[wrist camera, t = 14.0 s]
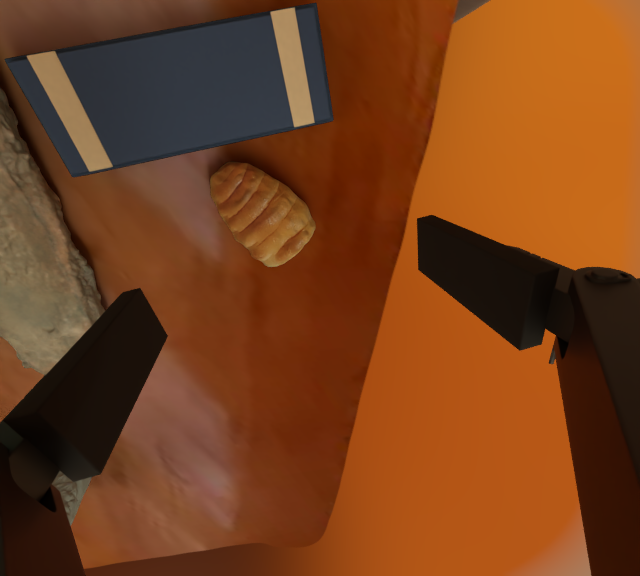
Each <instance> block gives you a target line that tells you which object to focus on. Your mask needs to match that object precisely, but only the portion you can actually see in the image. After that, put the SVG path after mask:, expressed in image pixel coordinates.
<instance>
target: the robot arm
mask: <svg viewBox="0 0 640 576" xmlns="http://www.w3.org/2000/svg"><path fill="white" fill-rule="evenodd" d="M417 231H418V232H417V233H418V270H420V271H421V272H422V273H423V274H424V275H426V276H427V277H428V278H429V279H431V280H432V281H433V282H434V283H436V284H437V285H438V286H439V287H441V288H442V289H443V290H444V291H446V292H447V293H448V294H449V295H451V296H452V297H453V298H455V299H456V300H457V301H458V302H459V303H461V304H462V305H463V306H465V307H466V308H467V309H468V310H469V311H471V312H472V313H474V315H476V316H477V317H478V318H479V319H481V320H482V321H483V322H485V323H486V324H487V325H488V326H489V327H491V328H492V329H493V330H495V331H496V332H497V333H498V334H500V335H501V336H502V337H503V338H505V339H506V340H507V341H508V342H510V343H511V344H512V345H513V346H515V347H516V348H517V349H519V350H524V349H527V348H530V347H534V346H537V345H541V344H542V340H543V336H544V332H545V329H547V330H548V331H550V332H552V333H553V334H555V335H556V338H555V341H554V345H553V349H552V353H551V356H550V360H549V364H553V363H554V360H555V359H556V363H557V369H558V375H559V381H560V387H561V393H562V399H563V405H564V411H565V417H566V424H567V430H568V436H569V442H570V448H571V454H572V460H573V466H574V472H575V478H576V484H577V490H578V497H579V503H580V509H581V515H582V521H583V527H584V533H585V539H586V545H587V551H588V557H589V563H590V569H591V575H592V576H640V278H639V279H636V278H635V277H634V276H632V275H631V274H628V273H626V272H623V271H620V270H616V269H611V268H603V267H586V268H581V269H577V270H576V271H575V270H572V269H570V268H567V267H565V266H562V265H560V264H557V263H555V262H552V261H550V260H547V259H545V258H541V257H540V256H537V255H535V254H530V252H527V251H525V250H523V249H520V248H517V247H512V246H506V245H504V244H501V243H499V242H496V241H494V240H492V239H489V238H487V237H484V236H482V235H480V234H477V233H475V232H472V231H470V230H467V229H465V228H463V227H460V226H458V225H455V224H453V223H451V222H448V221H446V220H443V219H441V218H438V217H436V216H434V215H429V216H426V217H422V218H418V219H417ZM167 337H168V336H167V334H166V332H165V330H164V329H163V327H162V325H161V323H160V322H159V320H158V318H157V316H156V315H155V313H154V311H153V309H152V308H151V306H150V304H149V303H148V301H147V299H146V297H145V296H144V294H143V292H142V290H141V289H140V288H138V289H134V290H130V291H126V292H123V293H122V294H121V295H120V296H119V297H118V298H117V299H116V300H115V301H114V302H113V303H112V304H111V305H110V307H109V308H108V309H107V310H106V311H105V312H104V313H103V314H102V315H101V316H100V317H99V318H98V319H97V320H96V322H95V323H94V324H93V325H92V326H91V327H90V328H89V329H88V330H87V331H86V332H85V333H84V334H83V336H82V337H81V338H80V339H79V340H78V341H77V342H76V343H75V344H74V345H73V346H72V347H71V348H70V349H69V351H68V352H67V353H66V354H65V355H64V356H63V357H62V358H61V359H60V360H59V361H58V362H57V363H56V364H55V366H54V367H53V368H52V369H51V370H50V371H49V372H48V373H47V374H46V375H45V376H44V377H43V378H42V379H41V380H40V381H39V382H38V383H37V384H36V385H35V386H34V388H33V389H32V390H31V391H30V392H29V393H28V394H27V395H26V396H25V397H24V399H23V400H21V401H20V402H19V403H18V405H17V406H16V407H15V408H14V409H13V410H12V411H11V412H10V413H9V414H8V415H7V416H6V417H5V418H4V419H3V421H2V422H1V423H0V576H86V575H85V572H84V569H83V566H82V562H81V559H80V556H79V553H78V549H77V546H76V543H75V539H74V536H73V533H72V530H71V526H70V523H69V520H68V517H67V513H66V510H65V507H64V503H63V500H62V497H61V494H60V491H59V490H58V489H57V488H56V487H54V486H53V485H52V483H53V481H54V479H55V478H56V476H57V474H58V473H59V471H61V472H62V473H63V474H64V475H66V476H67V477H68V478H69V479H70V480H71V481H72V482H76V481H79V480H83V479H86V478H89V477H93V476H96V475H100V474H101V473H102V471H103V469H104V466H105V464H106V462H107V460H108V458H109V456H110V454H111V452H112V450H113V448H114V446H115V444H116V442H117V440H118V438H119V436H120V434H121V431H122V429H123V427H124V425H125V423H126V421H127V419H128V417H129V415H130V413H131V411H132V409H133V407H134V405H135V403H136V401H137V399H138V396H139V394H140V392H141V390H142V388H143V386H144V384H145V382H146V380H147V378H148V376H149V374H150V372H151V370H152V368H153V366H154V364H155V361H156V359H157V357H158V355H159V353H160V351H161V349H162V347H163V345H164V343H165V341H166V339H167Z"/></svg>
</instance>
